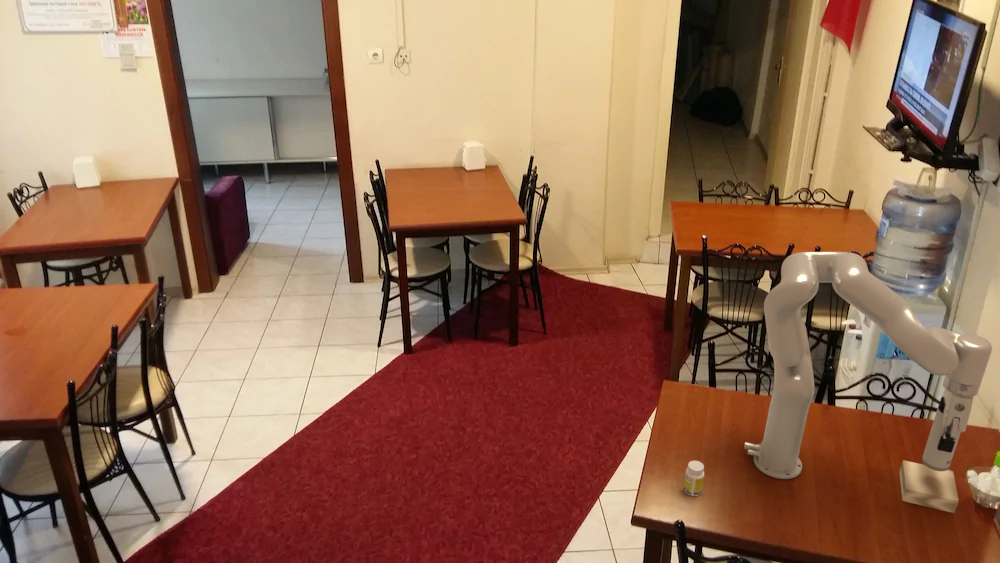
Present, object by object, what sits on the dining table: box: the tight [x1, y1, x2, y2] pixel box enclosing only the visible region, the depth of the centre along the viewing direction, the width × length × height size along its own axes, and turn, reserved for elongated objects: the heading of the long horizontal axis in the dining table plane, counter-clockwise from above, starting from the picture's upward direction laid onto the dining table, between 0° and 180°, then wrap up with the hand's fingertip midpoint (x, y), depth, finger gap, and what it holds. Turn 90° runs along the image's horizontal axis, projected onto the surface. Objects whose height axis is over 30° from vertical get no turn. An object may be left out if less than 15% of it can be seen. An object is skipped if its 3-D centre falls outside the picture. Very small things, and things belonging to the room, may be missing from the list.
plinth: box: [898, 459, 960, 514], centre depth 199 cm, size 12×12×4 cm
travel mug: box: [921, 396, 962, 471], centre depth 191 cm, size 6×7×20 cm
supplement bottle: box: [683, 460, 705, 497], centre depth 199 cm, size 5×5×8 cm
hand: (942, 441), depth 193 cm, fingers closed on travel mug, 6 cm apart
